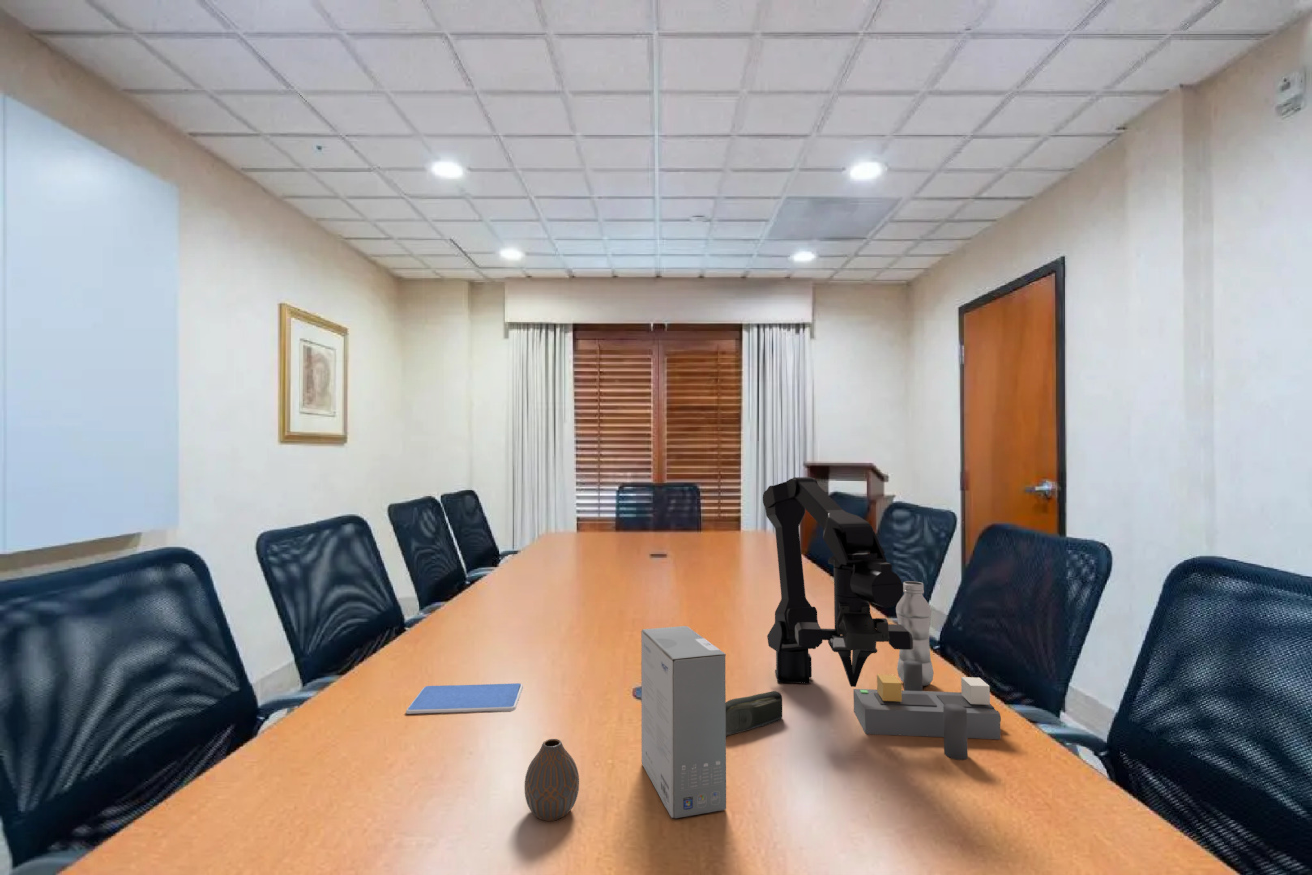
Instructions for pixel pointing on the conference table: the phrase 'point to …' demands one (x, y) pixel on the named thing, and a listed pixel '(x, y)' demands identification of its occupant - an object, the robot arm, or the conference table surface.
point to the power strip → (921, 714)
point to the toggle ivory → (975, 690)
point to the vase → (551, 782)
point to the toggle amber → (889, 687)
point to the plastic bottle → (915, 629)
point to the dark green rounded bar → (753, 711)
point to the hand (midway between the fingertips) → (852, 685)
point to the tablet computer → (466, 698)
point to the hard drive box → (684, 720)
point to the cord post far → (913, 676)
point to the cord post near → (955, 731)
